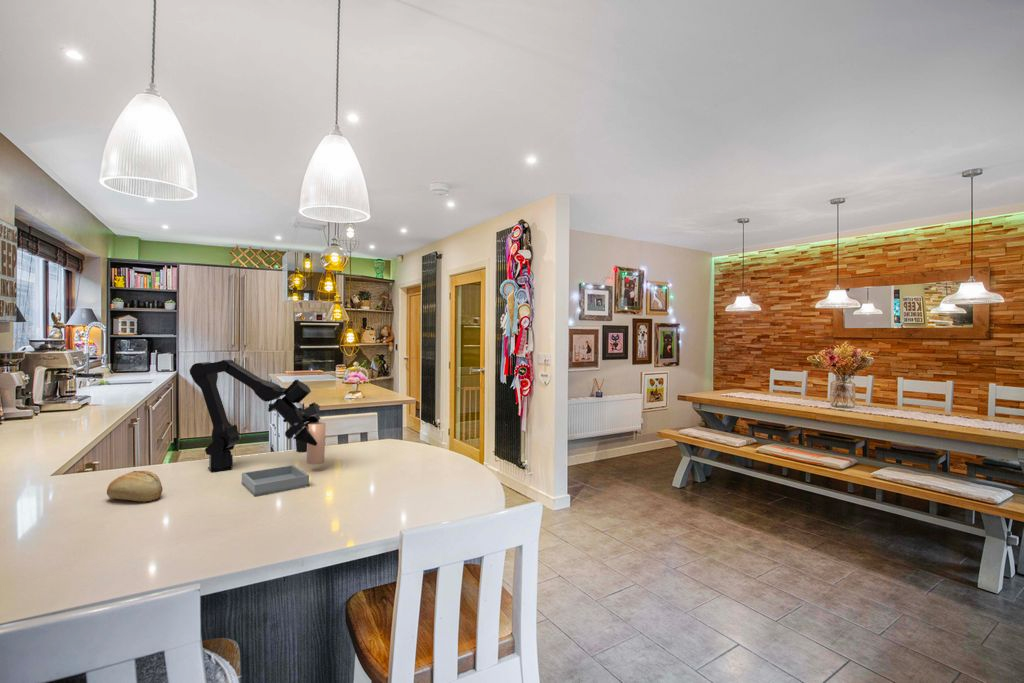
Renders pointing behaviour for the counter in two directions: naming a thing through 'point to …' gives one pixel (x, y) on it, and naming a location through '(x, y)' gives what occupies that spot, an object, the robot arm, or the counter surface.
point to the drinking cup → (301, 443)
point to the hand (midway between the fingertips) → (319, 442)
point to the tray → (274, 480)
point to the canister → (317, 452)
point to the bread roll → (136, 487)
